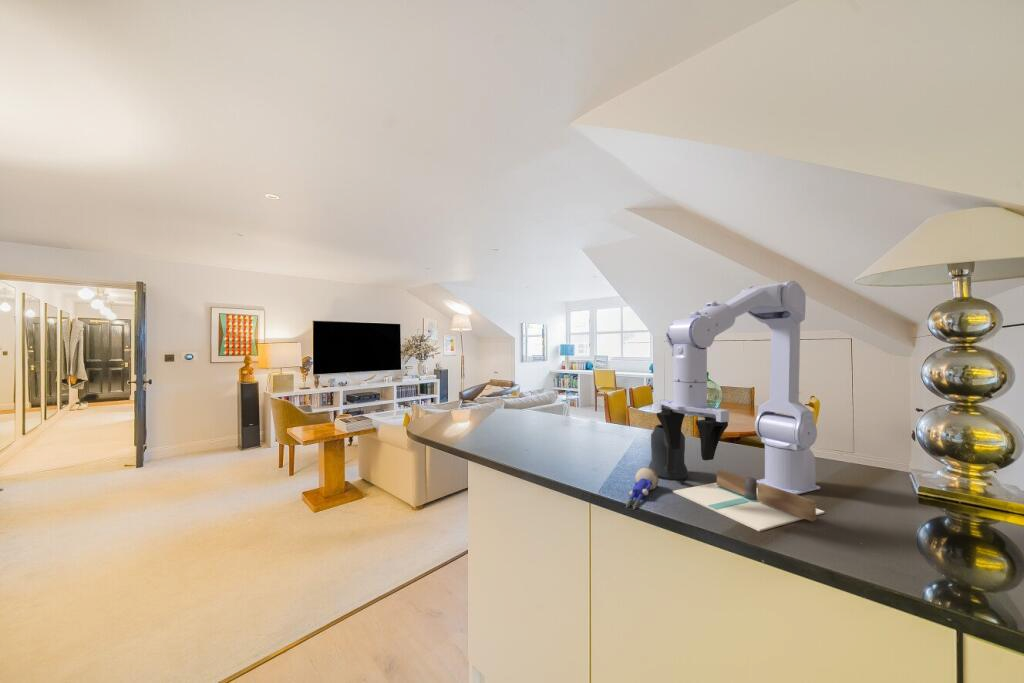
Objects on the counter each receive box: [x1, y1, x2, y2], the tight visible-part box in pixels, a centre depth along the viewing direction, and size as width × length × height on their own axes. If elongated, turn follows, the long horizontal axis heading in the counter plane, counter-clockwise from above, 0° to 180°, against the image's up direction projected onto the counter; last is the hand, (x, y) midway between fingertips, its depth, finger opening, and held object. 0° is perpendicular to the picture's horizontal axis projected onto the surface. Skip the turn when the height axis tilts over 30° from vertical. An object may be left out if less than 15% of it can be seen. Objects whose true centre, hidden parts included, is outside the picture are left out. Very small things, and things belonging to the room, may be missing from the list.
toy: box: [625, 466, 659, 510], centre depth 76 cm, size 5×5×15 cm
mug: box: [648, 423, 689, 482], centre depth 88 cm, size 12×9×11 cm
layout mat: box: [672, 481, 826, 532], centre depth 73 cm, size 18×18×1 cm
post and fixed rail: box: [716, 468, 758, 500], centre depth 77 cm, size 2×8×4 cm, turn 23°
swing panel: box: [757, 483, 817, 522], centre depth 68 cm, size 9×1×3 cm, turn 23°
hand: (690, 453), depth 71 cm, fingers open, 7 cm apart
